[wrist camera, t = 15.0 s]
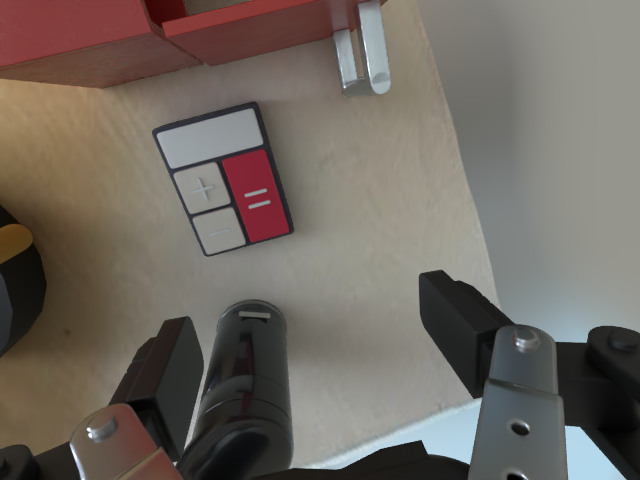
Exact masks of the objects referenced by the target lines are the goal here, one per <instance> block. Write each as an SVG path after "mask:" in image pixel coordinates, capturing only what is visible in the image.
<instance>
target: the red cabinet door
mask: <svg viewBox="0 0 640 480" xmlns="http://www.w3.org/2000/svg"><path fill="white" fill-rule="evenodd" d="M386 1H388V0H253V1H249V2H245V3H241V4H237V5H233V6H229V7H225V8H221V9H216V10H212V11H208V12H204V13H200V14H196V15H192V16H188V17H184V18H179V19H175V20H171V21H167V22H163V23H162V26H163V29H164V32H165V35H166V37H167V38H168V39H170V40H171V41H173V42H174V43H176V44H177V45H179V46H181V47H182V48H184V49H185V50H187V51H188V52H190V53H191V54H193V55H194V56H196V57H197V58H199V59H200V60H202V61H203V62H205V63H206V64H208V65H210V66H211V67H212V66H216V65H220V64H224V63H228V62H232V61H236V60H240V59H244V58H248V57H252V56H256V55H260V54H264V53H268V52H272V51H276V50H280V49H284V48H288V47H292V46H296V45H300V44H304V43H308V42H312V41H316V40H320V39H324V38H328V37H332V42H333V47H334V52H335V58H336V63H337V68H338V73H339V78H340V83H341V88H342V93H343V95H344V96H345V97H348V98H350V97H361V96H371V95H381V94H385V93H386V92H388V91H389V89H390V87H391V76H390V69H389V62H388V55H387V48H386V41H385V34H384V27H383V20H382V13H381V6H382V5H383V4H384V3H385V2H386ZM355 29H357V35H358V41H359V47H360V53H361V58H362V64H363V70H364V76H365V77H361V78H358V76H357V70H356V65H355V59H354V53H353V48H352V42H351V36H350V32H352V31H354V30H355Z"/></svg>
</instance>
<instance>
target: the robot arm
mask: <svg viewBox="0 0 640 480" xmlns="http://www.w3.org/2000/svg"><path fill="white" fill-rule="evenodd" d="M419 302H420V316H421V320H422V323H423V326H424V328H425V329H426V331H427V332H428V334H429V335H430V337H431V338H432V339H433V341H434V342H435V344H436V345H437V347H438V348H439V350H440V351H441V352H442V354H443V355H444V357H445V358H446V360H447V361H448V363H449V364H450V365H451V367H452V368H453V370H454V371H455V373H456V374H457V376H458V377H459V378H460V380H461V381H462V383H463V384H464V386H465V387H466V388H467V390H468V391H469V393H470V394H471V396H472V397H473V399H476V398H481V397H482V402H481V408H480V414H479V419H478V424H477V430H476V436H475V441H474V447H473V453H472V458H471V463H470V465H469V464H467V463H464V462H461V461H459V460H456V459H453V458H449V457H445V456H440V455H432V454H427V451H426V449H425V447H424V445H423V443H422V440H419V441H415V442H410V443H405V444H401V445H397V446H392V447H387V448H383V449H380V450H378V451H376V452H374V453H372V454H370V455H368V456H366V457H364V458H362V459H360V460H358V461H356V462H354V463H352V464H350V465H348V466H347V467H345V468H342V469H337V470H332V469H331V470H330V469H304V468H292V469H289V468H290V465H291V462H292V459H293V451H294V443H293V428H292V414H291V402H290V387H289V372H288V358H287V341H286V322H285V319H284V317H283V315H282V314H281V313H280V311H279V310H278V309H277V308H275V307H274V306H272V305H271V304H269V303H266V302H263V301H257V300H248V301H243V302H239V303H237V304H234V305H233V306H231V307H230V308H228V309H227V310H226V311H225V312H224V313H223V314H222V316H221V318H220V320H219V322H218V326H217V334H216V338H215V342H214V346H213V350H212V355H211V359H210V363H209V367H208V372H207V376H206V380H205V385H204V389H203V393H202V397H201V402H200V407H199V411H198V415H197V419H196V424H195V428H194V432H193V436H192V439H191V441H190V443H189V444H188V445H187V447H186V448H185V449H184V447H185V443H186V439H187V435H188V431H189V427H190V423H191V419H192V415H193V411H194V407H195V403H196V399H197V395H198V391H199V387H200V383H201V379H202V375H203V370H204V360H203V354H202V351H201V347H200V344H199V341H198V338H197V335H196V332H195V329H194V325H193V322H192V320H191V318H190V317H189V316H185V317H180V318H174V319H169V320H165V321H164V323H163V325H162V327H161V329H160V331H159V333H158V335H157V337H153V338H150V339H149V340H148V341H147V342H146V343H144V344H143V345H142V346H141V347H140V348H139V349H138V351H137V353H136V355H135V356H134V358H133V360H132V363H131V364H130V366H129V368H128V369H127V373H125V375H124V377H123V379H122V380H121V382H120V384H119V386H118V388H117V390H116V392H115V393H114V395H113V397H112V399H111V401H110V403H109V404H108V406H106V407H104V408H101V409H99V410H98V411H96V412H94V413H93V414H91V415H90V416H88V417H87V418H86V419H84V420H83V421H82V422H81V423H80V424H79V425H78V426H77V428H76V429H75V430H74V432H73V434H72V436H71V438H70V441H69V442H67V443H65V444H62V445H60V446H58V447H55V448H53V449H51V450H48V451H46V452H44V453H42V454H39V455H37V456H35V457H34V455H33V454H32V452H31V451H30V449H29V448H28V447H27V446H25V445H12V446H8V447H5V448H3V449H0V480H568V472H567V471H568V470H567V454H566V437H565V426H576V427H580V428H581V429H582V430H583V431H584V432H585V433H586V434H587V435H588V436H589V438H590V439H591V440H592V441H593V442H594V443H595V444H596V446H597V447H598V448H599V449H600V450H601V451H602V452H603V454H604V455H605V456H606V457H607V458H608V459H609V460H610V462H611V463H612V464H613V465H614V466H615V467H616V468H617V469H618V471H619V472H620V473H621V474H622V475H623V476H624V477H625V478H626V479H627V480H640V333H638V332H636V331H633V330H630V329H626V328H622V327H616V326H600V327H596V328H594V329H592V330H590V332H589V334H588V339H587V343H573V342H572V343H571V342H555V341H554V339H553V338H552V337H551V336H550V335H549V334H547V333H546V332H544V331H542V330H540V329H538V328H535V327H532V326H528V325H521V324H515V323H514V322H512V321H511V320H510V319H509V318H508V317H507V316H506V315H505V314H503V313H502V312H501V311H500V310H499V309H498V308H497V307H496V306H495V305H493V304H492V303H490V301H489V300H488V299H487V298H486V297H484V296H482V294H481V293H480V292H479V291H478V290H477V289H475V288H474V287H473V286H471V285H469V284H467V283H464V282H462V281H460V280H459V281H454V280H453V279H452V278H450V277H449V276H448V275H447V274H446V273H445V272H444V271H443V270H436V271H431V272H425V273H421V274H420V275H419ZM172 462H177V463H176V466H174V464H173V463H172Z"/></svg>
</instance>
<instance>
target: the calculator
mask: <svg viewBox="0 0 640 480" xmlns="http://www.w3.org/2000/svg"><path fill="white" fill-rule="evenodd" d="M152 134H153V137H154V139H155V142H156V144H157V146H158V149H159V151H160V153H161V156H162V158H163V160H164V163H165V165H166V167H167V170H168V172H169V174H170V177H171V179H172V181H173V184H174V186H175V188H176V190H177V193H178V195H179V197H180V200H181V202H182V204H183V207H184V209H185V211H186V214H187V216H188V218H189V221H190V223H191V225H192V228H193V230H194V232H195V235H196V237H197V239H198V242H199V244H200V246H201V248H202V251H203V253H204V255H205V256H207V257H209V256H213V255H217V254H220V253H224V252H228V251H231V250H235V249H238V248H242V247H245V246H249V245H253V244H256V243H260V242H263V241H267V240H271V239H274V238H278V237H281V236H285V235H288V234H292V233H293V232H294V227H293V222H292V218H291V215H290V212H289V208H288V205H287V201H286V198H285V195H284V191H283V188H282V184H281V181H280V178H279V174H278V171H277V167H276V164H275V161H274V157H273V154H272V151H271V147H270V144H269V140H268V137H267V133H266V130H265V126H264V123H263V119H262V116H261V113H260V109H259V106H258V104H257V102H254V101H253V102H249V103H245V104H241V105H237V106H234V107H230V108H226V109H222V110H219V111H215V112H211V113H207V114H204V115H200V116H196V117H192V118H189V119H185V120H181V121H177V122H174V123H170V124H166V125H163V126H160V127H158V128H155V129H154V130H153V131H152Z"/></svg>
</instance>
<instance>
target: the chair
mask: <svg viewBox="0 0 640 480" xmlns="http://www.w3.org/2000/svg"><path fill="white" fill-rule="evenodd" d="M32 241H33V236H32V233H31V232H30V230H29V229H28V228H26V227H25V226H22V225H21V224H20V223H19V222H18V221H17V220H15V219H14V218H13V217H12V216H11V215H10V214H9V213H8V212H7V211H6V210H5V209H4V208H3V207H2V206H1V205H0V357H1V356H2V355H3V354H4V353H6V352H7V351H8V350H9V349H10V348H11V347H12V346H13V345H14V344H15V343H16V342H17V341H18V340H19V339H21V338H22V337H23V336H24V335H25V334H26V333H27V332H28V330H29V329H30V328H31V326H32V325H33V323H34V322H35V320H36V319H37V317H38V316H39V314H40V313H41V312H42V308H43V302H44V297H45V291H46V285H47V284H46V280H45V275H44V270H43V266H42V261H41V257H40V254H39V253H38V251H37V249H36V248H35V246H34V245H33V243H32Z"/></svg>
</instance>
